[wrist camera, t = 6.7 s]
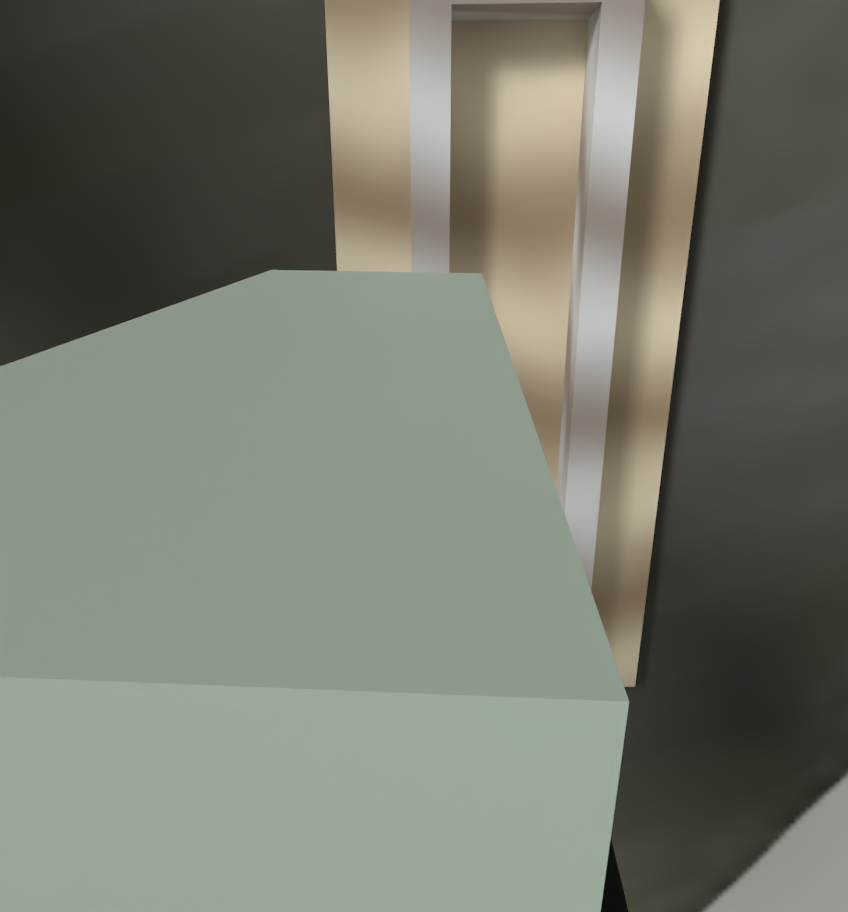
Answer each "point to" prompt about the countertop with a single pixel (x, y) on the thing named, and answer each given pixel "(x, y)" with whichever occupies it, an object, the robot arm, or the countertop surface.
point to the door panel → (296, 615)
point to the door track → (542, 220)
